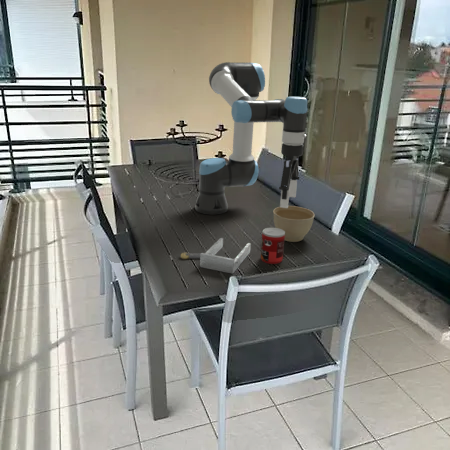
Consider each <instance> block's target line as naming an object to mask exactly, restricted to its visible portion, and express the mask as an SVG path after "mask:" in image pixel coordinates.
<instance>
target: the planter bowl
mask: <svg viewBox="0 0 450 450" xmlns="http://www.w3.org/2000/svg"><path fill="white" fill-rule="evenodd" d="M272 213H273V224H274V228H279V229H282V230H283V231H284V232H285V240H284V242H285V241H287V242H291V243H297V242H300V241H303V240H304V238H305V236H306V235H307V234H308V233H309V231H311V228H312V226H313V223H314V218H315V213H314V211H312V210H311V209H308V208H305V207H301V206H296V205H288V208H281V207H280V206H278V207H275V208H274V209H273V212H272Z"/></svg>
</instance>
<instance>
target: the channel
mask: <svg viewBox="0 0 450 450" xmlns="http://www.w3.org/2000/svg"><path fill="white" fill-rule="evenodd" d="M251 245H252V244H251V243H250V242H248V243H246V245H245V246H244V247H242V249H241V251H240V252H239V253H238V255H237V256H236V257H235V258H230V257H226V256H221V255H217V253H218V252H219V251H220V250H221V249H222V248H223V246H224V237H220V238H219V239H218V240H217V241H216V242H214V243H213V244H212V245H211V246H210V248H209V249H207V251H206V252H201V254H200V259H199V262H200V263H199V267H200V268H204V269H208V270H213V271H217V272H218V271H219V272H223V273H229V274H234V273H235V272H236V271H237V270H238V268H239V267H240V265H241V264H242V263H244V261H245V259H246V258H247V256H248V255H249V254H250V253H251V247H252V246H251Z"/></svg>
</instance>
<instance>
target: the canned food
mask: <svg viewBox="0 0 450 450" xmlns="http://www.w3.org/2000/svg"><path fill="white" fill-rule="evenodd" d="M260 245H261V247H260V260H261V261H262V262H263V263H265V264H270V265H277V264H281V262H283V260H284V250H285V232H284V231H283V230H282V229H279V228H276V227H266V228H264V229H263V230H262V233H261V244H260Z"/></svg>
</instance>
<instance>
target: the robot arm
mask: <svg viewBox="0 0 450 450" xmlns="http://www.w3.org/2000/svg"><path fill="white" fill-rule="evenodd" d="M210 71H211V72H210V73H209V77H208V84H209V86H210V88H211V89H212V90H213V92H214V93H215V94H216V95H220V96H221V97H222V98H223V100H224V101H225V102H226V103H227V104H228V106H230V107H231V117H232V120H233V139H232V141H233V142H232V153H231V154H230V155H229V157H228V160H227V161H226V159H225V158H222V157H212V158H206V159H205V160H202V161H201V162H200V164H199V169H198V170H199V171H198V174H199V176H198V178H199V180H198V181H199V183H198V189H199V190H198V195H197V198H196V202H195V205H194V206H195V211H196V212H197V213H200V214H204V215H209V216H210V215H221V214H225V213H226V212H228V210H229V208H228V207H229V204H228V202H227V197H226V195H225V189H226V188H235V187H247V186H252V185H254V184H255V183H256V181H257V179H258V177H259V163H258V162H257V161H256V160H255V157H254V156H253V155H252V152H253V150H252V149H253V137H254V136H253V135H254V123H283V124H282V125H283V126H282V136H281V142H282V144H281V150H280V151H281V155H283V156H285V157H286V159H285V160H284V161H283V167H282V168H283V169H282V174H281V175H282V176H281V181H280V186H279V188H278V190H279V191H281V192H280V202H279V207H281V208H288V206H289V200H290V198H296V196H297V188H298V187H297V186H298V180H299V181H300V173H299V157H301V156H303V154H304V147H305V145H304V143H305V138H307V134H305V131H306V125H307V115H308V99H307V98H306V97H303V96H287V97H285V99H283V98H281V99H280V98H278V99H273V100H271V99H269V100H267V99H265V100H264V99H263V100H260V99H259V97H260V93H261V92H264V90H265V86H266V75H265V71H264V68H263V67H262V65H261V64H259V63H258V62H229V61H227V62H221V63H219V64H218V65H215V67H214V68H213V69H212V70H210ZM258 99H259V100H258Z"/></svg>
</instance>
